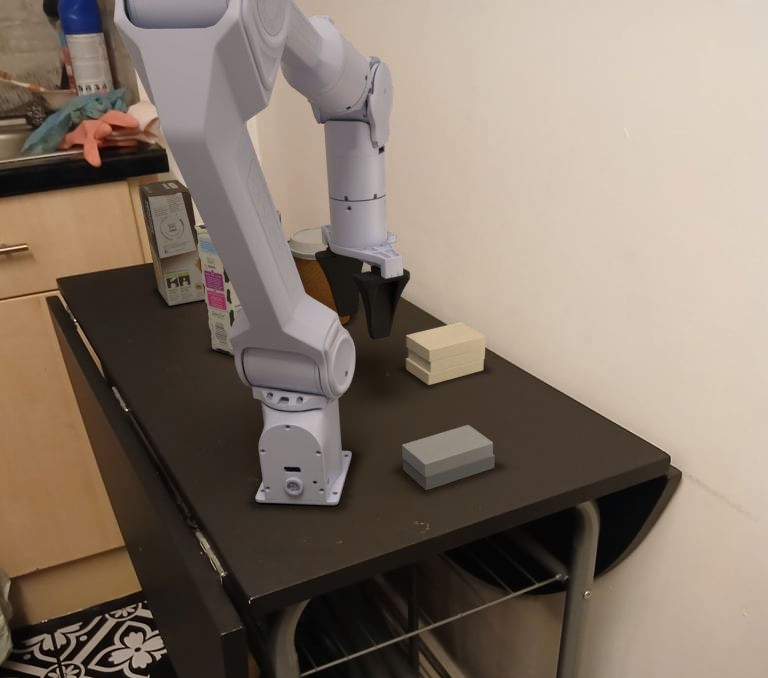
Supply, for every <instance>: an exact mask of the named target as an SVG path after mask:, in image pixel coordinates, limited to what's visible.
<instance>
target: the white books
mask: <svg viewBox="0 0 768 678" xmlns="http://www.w3.org/2000/svg"><path fill="white" fill-rule="evenodd" d="M485 359H486V347H485V348H481V349H477V350H474V351H470V352H466V353H462V354H458V355H455V356H451V357H447V358H443V359H439V360H435V361H432V362H429V361H427V360H426V359H424V358H423V357H421V356H420V355H418V354H417V353H415V352H413V351H412V350H410V349H409V348H407V357H405V359H404V360H405V363H404V364H405V370H406V371H408V372H409V373H410V374H412V375H413V376H414V377H416V378H418V379H419V380H420V381H422V382H423V383H425V384H426V385H427V386H432V385H435V384H438V383H442V382H445V381H449V380H453V379H456V378H460V377H463V376H467V375H471V374H474V373H478V372H482V371H484V368H485V367H484V365H485Z"/></svg>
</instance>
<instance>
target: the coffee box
mask: <svg viewBox="0 0 768 678" xmlns="http://www.w3.org/2000/svg"><path fill="white" fill-rule="evenodd" d="M137 191H138V195H139V202H140V207H141V210H142V216H143V220H144V225H145V230H146V235H147V241H148V244H149V250H150V255H151V260H152V265H153V270H154V275H155V280H156V285H157V291H158V293H160V295H161V297H162V298H163V299H164V301H165V302H166V304H167V305H168V306H170V307H171V306H177V305H182V304H188V303H193V302H200V301H205V294H204V287H203V282H202V275H201V268H200V261H199V254H198V247H197V240H196V233H195V227H194V225H196V224H197V223H196V218H195V211H194V204H193V199H192V197H191V194H190V192H189V190H188V188H187V186H186V185H184V184H183V183H182V182H181V181H179V180H178V179H171V180H161V181H155V182H154V181H153V182H149V183H142V184H137Z"/></svg>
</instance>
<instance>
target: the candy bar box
mask: <svg viewBox="0 0 768 678" xmlns="http://www.w3.org/2000/svg"><path fill="white" fill-rule="evenodd" d="M276 211H277V214H278V217H279V220H280V222H281V223H282V215H281V211H280V210H277V209H276ZM194 227H195V233H196V240H197V247H198V254H199V261H200V268H201V275H202V282H203V287H204V294H205V300H204V302H205V308H206V315H207V322H208V328H209V336H210V342H211V349H212V350H213V351H216V352H220V353H223V354H226V355H230V356H232V357H234V350H233V347H232V345H231V343H230V341H229V335H230V331H231V328H232V324H233V322H234V320H235V318H236V316H237V314H238V312H239V311H240V310H241V308H242V306H241V304H240V302H239V300H238V297H237V295H236V293H235V291H234V289H233V286H232V284H231V282H230V280H229V278H228V275H227V273H226V271H225V269H224V267H223V265H222V262H221V260H220V258H219V256H218V254H217V251H216V249H215V247H214V245H213V243H212V240H211V238H210V236H209V234H208V232H207V230H206V227H205V225H204V223H203V222H199V223H196V225H194Z"/></svg>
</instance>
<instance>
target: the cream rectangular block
mask: <svg viewBox="0 0 768 678" xmlns="http://www.w3.org/2000/svg"><path fill="white" fill-rule="evenodd" d="M486 339H487V335H485V334H483V333H481V332H480V331H478V330H476V329H474V328H472V327H470V326H469V325H467V324H465V323H464V322H462V321H459V322H454V323H451V324H447V325H442V326H438V327H433V328H429V329H426V330H422V331H418V332H414V333H413V332H412V333H410V334H406V335H405V347H406V349H408V348H409V349H410V350H412V351H413V352H415V353H417V354H418V355H420V356H421V357H423V358H424V359H426V360H427V361H429V362H432V361H435V360H439V359H443V358H447V357H451V356H455V355H458V354H462V353H466V352H470V351H474V350H477V349H481V348H485V349H486V341H487V340H486Z"/></svg>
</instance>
